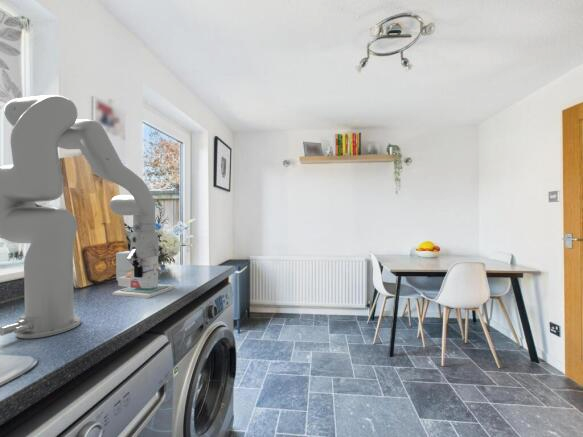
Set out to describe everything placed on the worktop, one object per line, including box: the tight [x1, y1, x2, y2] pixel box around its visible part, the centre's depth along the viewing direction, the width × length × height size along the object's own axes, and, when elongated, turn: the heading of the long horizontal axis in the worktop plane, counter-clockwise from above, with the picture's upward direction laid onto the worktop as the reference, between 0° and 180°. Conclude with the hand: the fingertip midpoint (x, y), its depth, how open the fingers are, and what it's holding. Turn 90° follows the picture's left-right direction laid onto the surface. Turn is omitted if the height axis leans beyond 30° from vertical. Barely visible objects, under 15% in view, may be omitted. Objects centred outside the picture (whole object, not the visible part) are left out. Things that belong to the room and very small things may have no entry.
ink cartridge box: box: [131, 248, 159, 288], centre depth 105 cm, size 9×5×15 cm, turn 85°
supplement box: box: [115, 250, 131, 282], centre depth 126 cm, size 7×7×13 cm
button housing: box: [117, 276, 131, 288], centre depth 116 cm, size 7×7×4 cm
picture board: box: [112, 283, 176, 299], centre depth 106 cm, size 14×16×1 cm
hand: (144, 274), depth 105 cm, fingers closed on ink cartridge box, 5 cm apart
